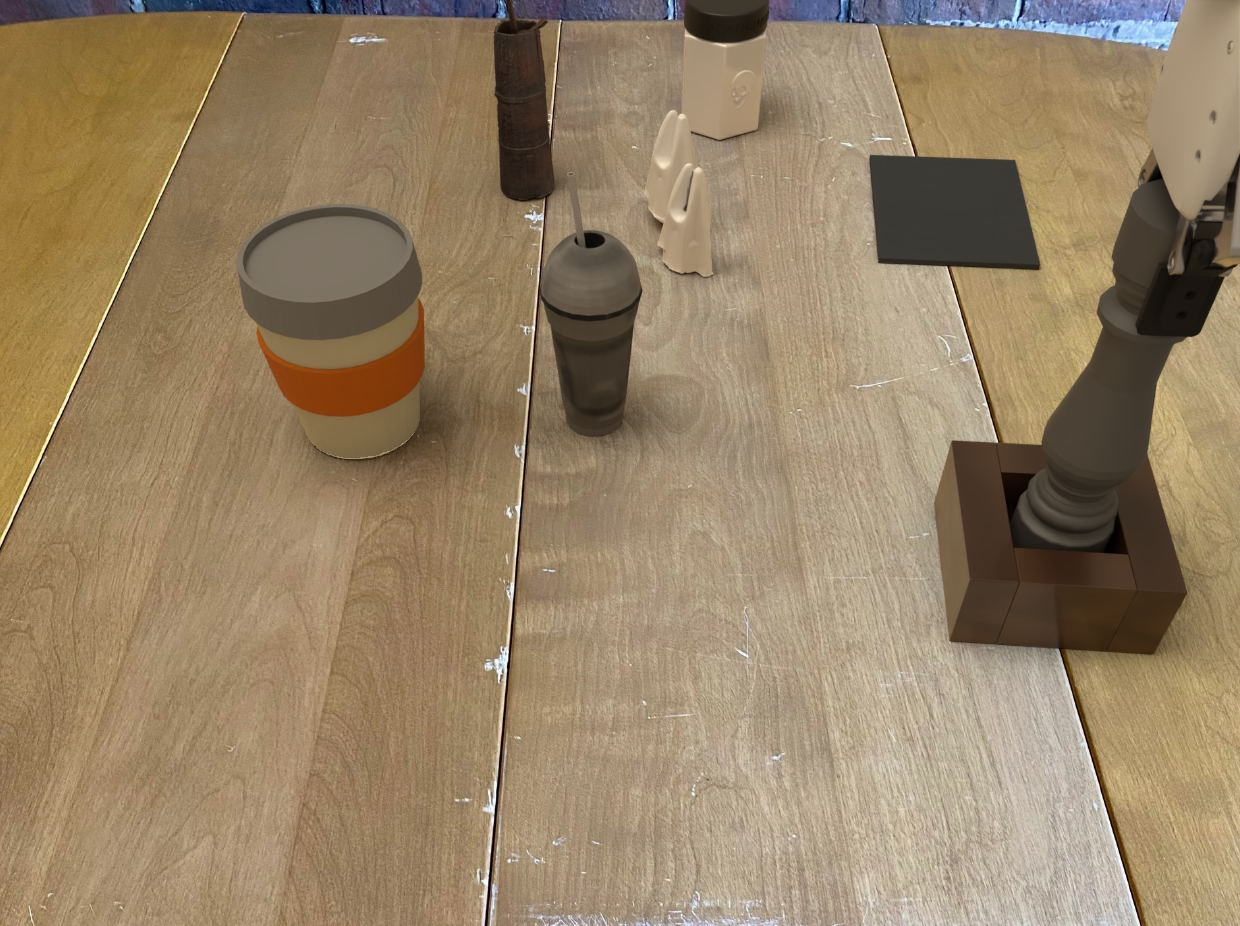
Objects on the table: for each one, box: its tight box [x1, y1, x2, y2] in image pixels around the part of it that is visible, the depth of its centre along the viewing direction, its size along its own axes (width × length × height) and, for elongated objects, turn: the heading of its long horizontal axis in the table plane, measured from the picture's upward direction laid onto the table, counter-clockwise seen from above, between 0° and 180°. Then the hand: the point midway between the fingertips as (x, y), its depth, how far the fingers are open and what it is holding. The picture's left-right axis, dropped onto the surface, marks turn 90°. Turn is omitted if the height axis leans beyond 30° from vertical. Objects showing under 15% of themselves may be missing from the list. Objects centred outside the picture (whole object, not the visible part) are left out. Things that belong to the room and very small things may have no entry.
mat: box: [868, 154, 1041, 270], centre depth 109 cm, size 14×18×1 cm
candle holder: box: [1010, 179, 1226, 553], centre depth 69 cm, size 6×6×25 cm
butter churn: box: [493, 0, 556, 201], centre depth 103 cm, size 9×10×28 cm
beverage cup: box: [539, 171, 643, 437], centre depth 84 cm, size 7×7×20 cm
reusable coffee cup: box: [235, 203, 426, 458], centre depth 86 cm, size 12×13×15 cm
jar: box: [680, 0, 771, 141], centre depth 117 cm, size 9×8×12 cm
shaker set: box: [642, 109, 714, 278], centre depth 103 cm, size 12×4×11 cm, turn 10°
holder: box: [933, 439, 1188, 655], centre depth 78 cm, size 13×13×6 cm
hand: (1154, 293), depth 63 cm, fingers closed on candle holder, 5 cm apart
